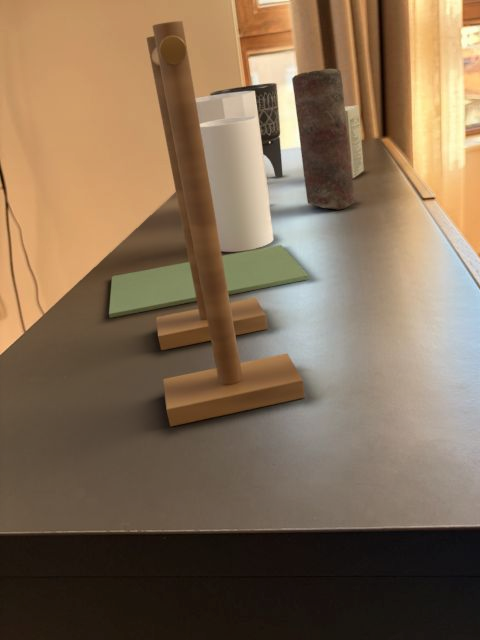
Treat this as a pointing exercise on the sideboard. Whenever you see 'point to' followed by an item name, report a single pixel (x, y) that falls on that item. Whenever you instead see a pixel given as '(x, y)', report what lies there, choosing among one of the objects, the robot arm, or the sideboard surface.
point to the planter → (266, 120)
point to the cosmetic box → (354, 139)
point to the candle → (324, 138)
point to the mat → (178, 286)
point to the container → (228, 109)
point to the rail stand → (206, 266)
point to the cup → (237, 183)
